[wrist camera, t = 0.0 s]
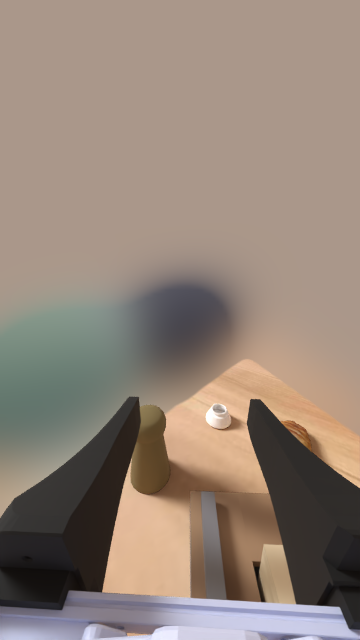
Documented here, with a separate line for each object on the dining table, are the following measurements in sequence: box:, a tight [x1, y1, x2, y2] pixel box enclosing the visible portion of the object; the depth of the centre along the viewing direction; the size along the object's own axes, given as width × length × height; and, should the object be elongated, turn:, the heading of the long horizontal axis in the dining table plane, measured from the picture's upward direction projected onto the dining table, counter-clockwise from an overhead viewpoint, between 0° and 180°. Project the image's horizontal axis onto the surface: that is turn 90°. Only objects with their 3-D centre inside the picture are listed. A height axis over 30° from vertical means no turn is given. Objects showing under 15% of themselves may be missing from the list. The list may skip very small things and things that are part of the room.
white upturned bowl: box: [206, 404, 231, 429], centre depth 40 cm, size 5×3×5 cm
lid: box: [190, 491, 283, 602], centre depth 16 cm, size 16×22×2 cm
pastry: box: [281, 421, 312, 452], centre depth 34 cm, size 9×7×4 cm
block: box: [257, 544, 296, 604], centre depth 16 cm, size 4×4×7 cm
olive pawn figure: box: [131, 405, 170, 494], centre depth 29 cm, size 6×6×11 cm
